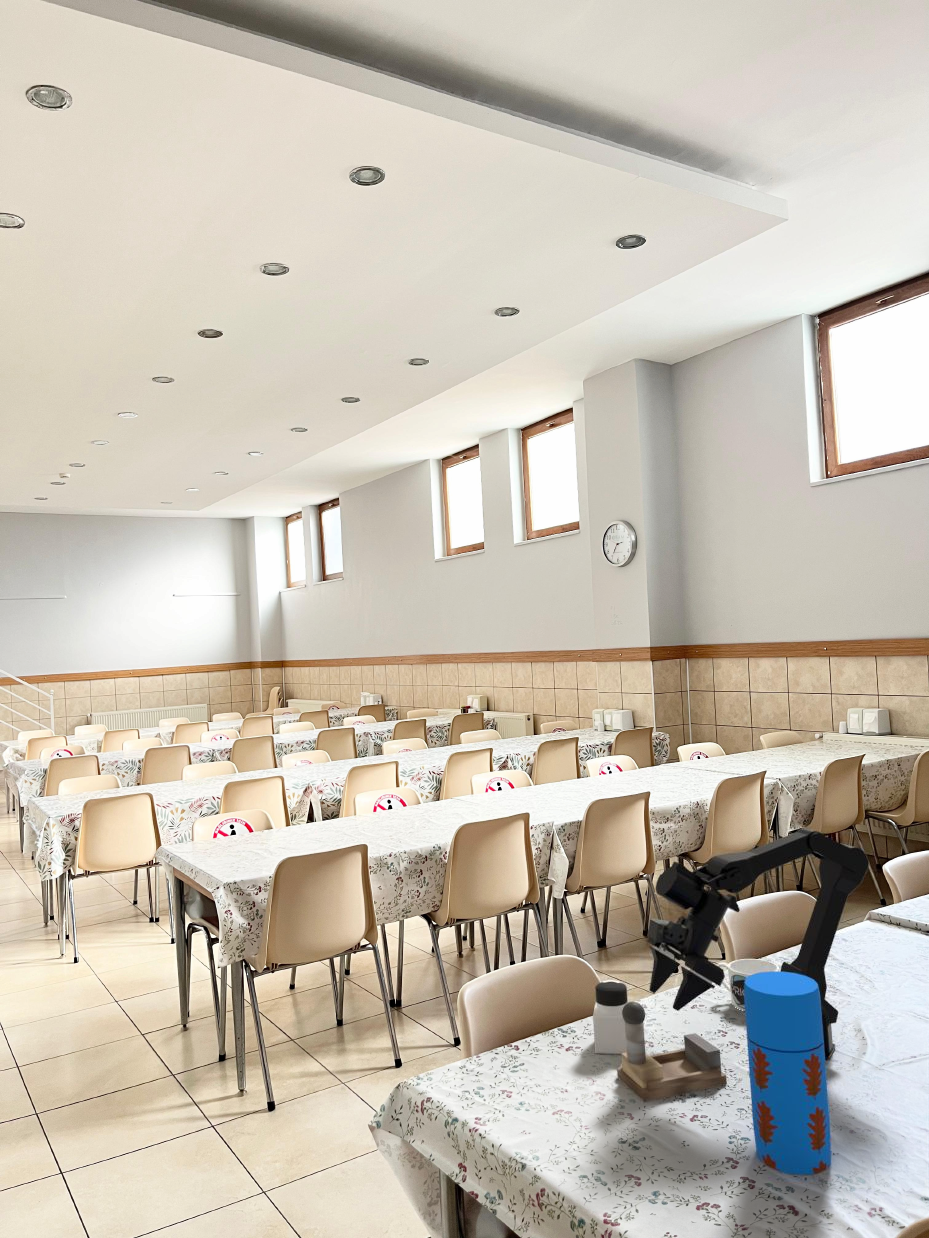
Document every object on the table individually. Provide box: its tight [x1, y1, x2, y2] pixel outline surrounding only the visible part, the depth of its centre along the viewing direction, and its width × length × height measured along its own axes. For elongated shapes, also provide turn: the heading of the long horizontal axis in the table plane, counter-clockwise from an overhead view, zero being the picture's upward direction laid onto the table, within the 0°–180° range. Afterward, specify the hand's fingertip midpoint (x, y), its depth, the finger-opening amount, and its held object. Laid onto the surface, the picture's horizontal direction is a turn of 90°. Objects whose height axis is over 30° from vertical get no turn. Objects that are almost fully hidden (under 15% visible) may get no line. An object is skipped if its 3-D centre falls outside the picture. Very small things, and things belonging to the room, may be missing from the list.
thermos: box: [744, 971, 832, 1176], centre depth 134 cm, size 11×11×25 cm
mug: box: [716, 958, 780, 1012], centre depth 193 cm, size 13×10×8 cm
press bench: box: [616, 1032, 728, 1103], centre depth 159 cm, size 16×10×6 cm, turn 107°
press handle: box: [621, 1001, 664, 1089], centre depth 158 cm, size 5×8×13 cm, turn 17°
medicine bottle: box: [592, 979, 629, 1055], centre depth 175 cm, size 7×7×12 cm
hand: (663, 1000), depth 162 cm, fingers open, 9 cm apart
